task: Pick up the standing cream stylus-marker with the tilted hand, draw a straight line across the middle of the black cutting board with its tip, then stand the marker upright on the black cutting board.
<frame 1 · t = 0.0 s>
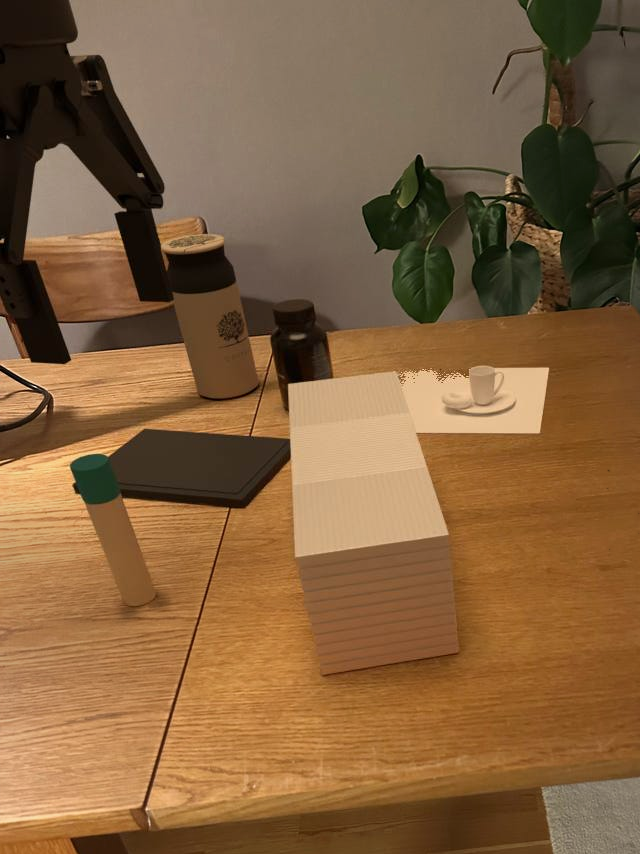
hand: (108, 329, 63), 22 cm above the table, tool pointing down, fingers open, 13 cm apart
marker: (139, 597, 73), on the table
black cutting board: (191, 469, 92), on the table
teacup and saucer: (464, 399, 104), on the table
stack of papers: (372, 556, 77), on the table
travel mug: (229, 389, 110), on the table
supplement bottle: (310, 404, 105), on the table
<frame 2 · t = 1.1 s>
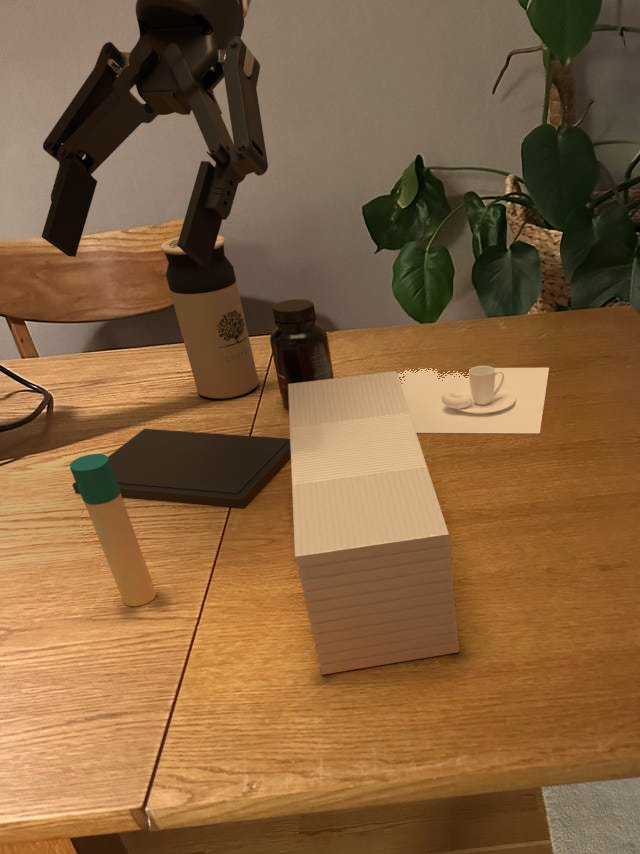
hand: (123, 252, 64), 26 cm above the table, tool tilted 45°, fingers open, 13 cm apart
nothing on the table moved.
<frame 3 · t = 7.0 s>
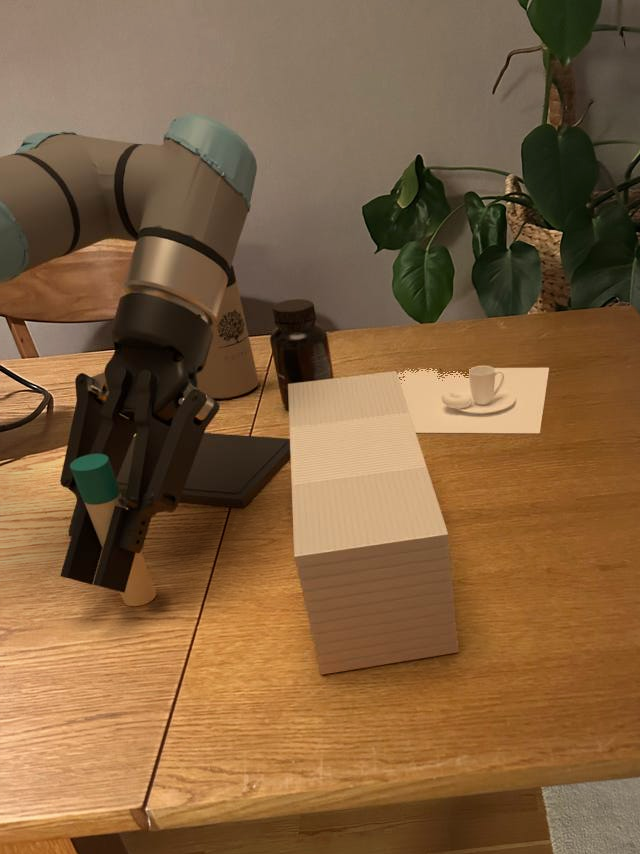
hand: (92, 584, 68), 4 cm above the table, tool tilted 45°, fingers closed on marker, 3 cm apart
marker: (139, 597, 73), on the table, touching gripper
everything else where it was.
when the fingers open (5 cm above the table, at t = 22.9 s): marker stays where it is, resting on black cutting board.
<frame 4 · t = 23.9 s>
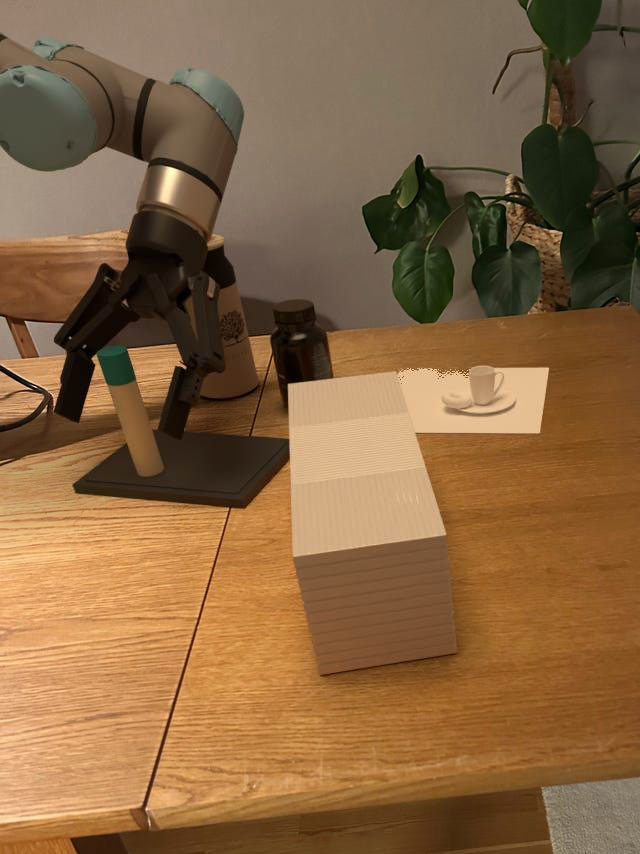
hand: (116, 426, 85), 7 cm above the table, tool tilted 45°, fingers open, 13 cm apart
marker: (150, 470, 90), point 1 cm above the table, touching black cutting board
everything else where it was.
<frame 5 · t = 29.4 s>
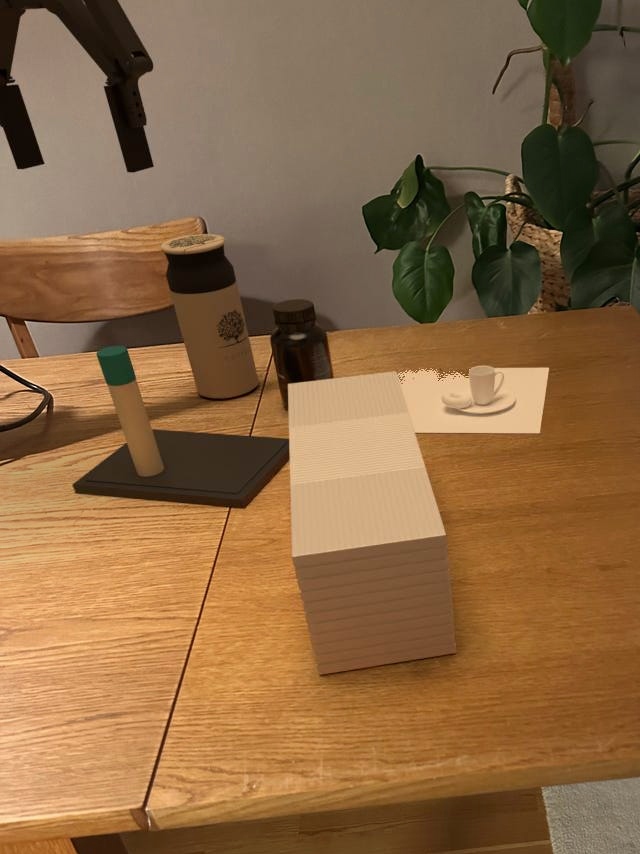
hand: (84, 168, 78), 29 cm above the table, tool pointing down, fingers open, 13 cm apart
nothing on the table moved.
at the end: marker inside the target area on the black cutting board (4.1 cm from its centre), point 1.1 cm above the black cutting board's base; marker tilted 0°; the gripper is holding nothing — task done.
